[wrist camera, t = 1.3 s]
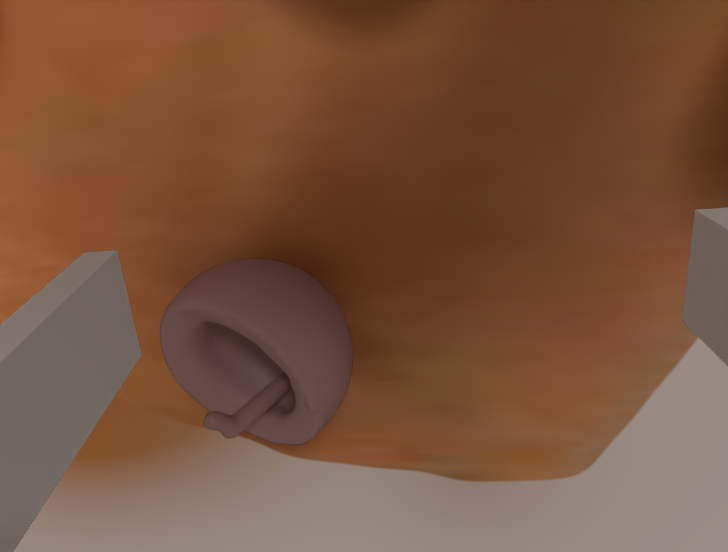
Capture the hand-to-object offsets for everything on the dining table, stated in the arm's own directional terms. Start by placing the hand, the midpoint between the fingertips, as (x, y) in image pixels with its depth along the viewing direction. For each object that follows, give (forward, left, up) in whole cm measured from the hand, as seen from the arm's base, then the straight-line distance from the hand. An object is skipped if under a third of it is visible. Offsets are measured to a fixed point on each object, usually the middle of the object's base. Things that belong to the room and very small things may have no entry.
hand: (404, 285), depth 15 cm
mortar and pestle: (+19, 0, -24) cm, 31 cm away
